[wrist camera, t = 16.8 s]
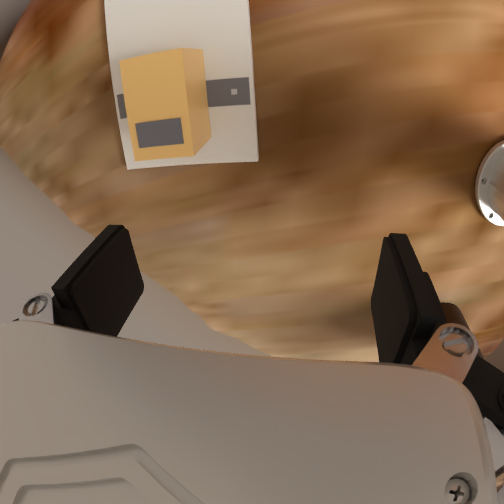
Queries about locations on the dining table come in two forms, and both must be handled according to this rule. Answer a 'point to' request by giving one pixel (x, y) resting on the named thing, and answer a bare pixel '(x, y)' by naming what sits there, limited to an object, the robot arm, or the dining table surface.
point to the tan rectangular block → (166, 103)
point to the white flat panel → (215, 63)
